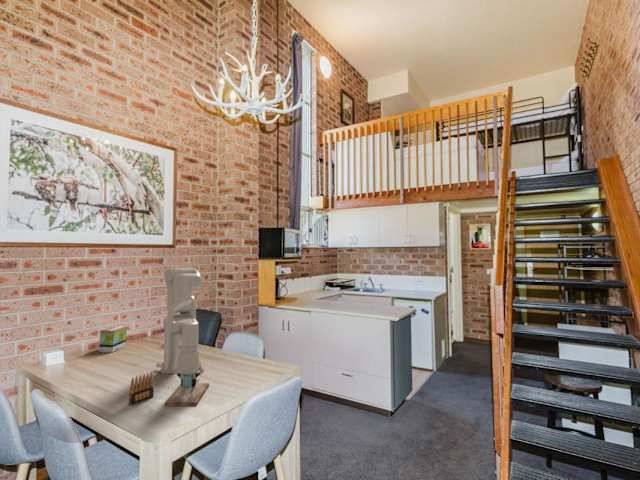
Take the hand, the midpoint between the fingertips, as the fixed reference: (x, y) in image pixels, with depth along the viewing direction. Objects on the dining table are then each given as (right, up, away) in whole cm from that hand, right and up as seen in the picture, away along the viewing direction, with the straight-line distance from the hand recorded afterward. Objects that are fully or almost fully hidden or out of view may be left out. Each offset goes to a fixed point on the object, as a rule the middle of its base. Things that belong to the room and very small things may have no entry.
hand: (188, 386), depth 162 cm
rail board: (0, -4, 0) cm, 4 cm away
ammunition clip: (-19, -4, -6) cm, 21 cm away
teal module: (0, -1, 0) cm, 1 cm away
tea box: (-80, -6, +72) cm, 108 cm away
